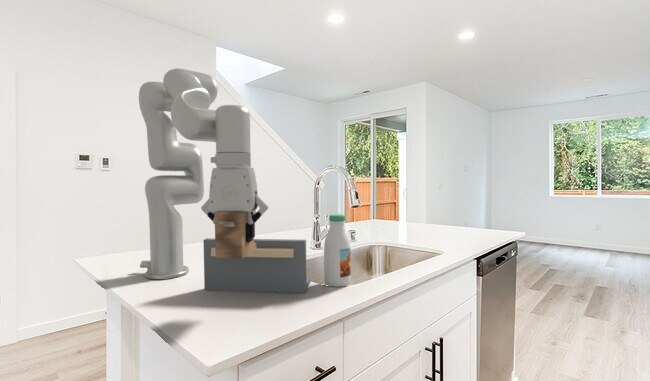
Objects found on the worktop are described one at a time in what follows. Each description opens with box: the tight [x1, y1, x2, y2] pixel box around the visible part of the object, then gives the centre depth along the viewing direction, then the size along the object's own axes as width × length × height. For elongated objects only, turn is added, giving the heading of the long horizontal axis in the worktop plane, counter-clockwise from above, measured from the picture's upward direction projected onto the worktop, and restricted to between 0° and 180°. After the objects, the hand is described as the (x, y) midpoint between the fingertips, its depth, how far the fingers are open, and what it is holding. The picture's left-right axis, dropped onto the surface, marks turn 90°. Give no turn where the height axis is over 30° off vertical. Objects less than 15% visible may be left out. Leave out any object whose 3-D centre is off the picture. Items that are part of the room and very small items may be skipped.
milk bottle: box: [323, 213, 352, 288], centre depth 97 cm, size 8×8×20 cm
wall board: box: [203, 237, 312, 294], centre depth 95 cm, size 28×12×14 cm, turn 84°
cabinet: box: [214, 209, 257, 258], centre depth 77 cm, size 6×11×10 cm, turn 174°
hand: (235, 240), depth 77 cm, fingers closed on cabinet, 6 cm apart
